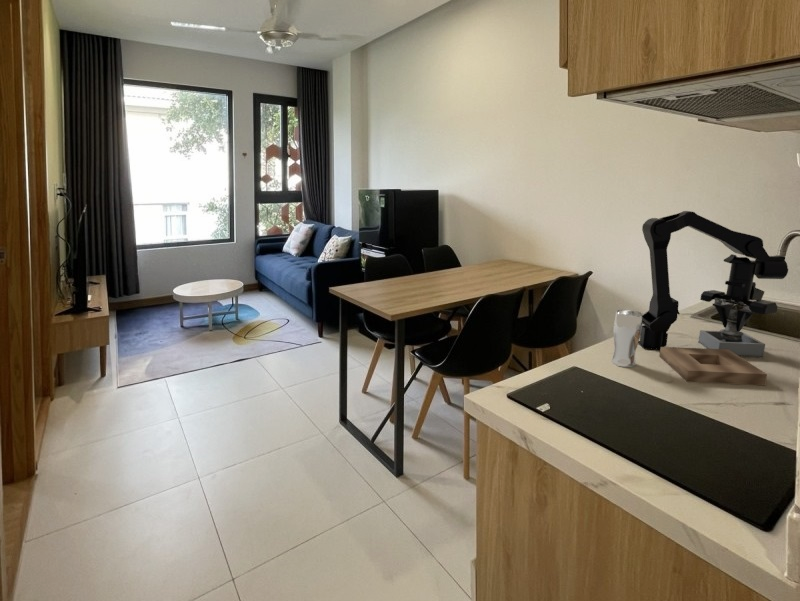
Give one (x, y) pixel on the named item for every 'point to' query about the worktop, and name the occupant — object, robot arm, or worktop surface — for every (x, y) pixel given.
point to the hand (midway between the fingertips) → (732, 329)
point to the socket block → (712, 366)
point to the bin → (732, 344)
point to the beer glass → (626, 336)
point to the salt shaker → (731, 327)
